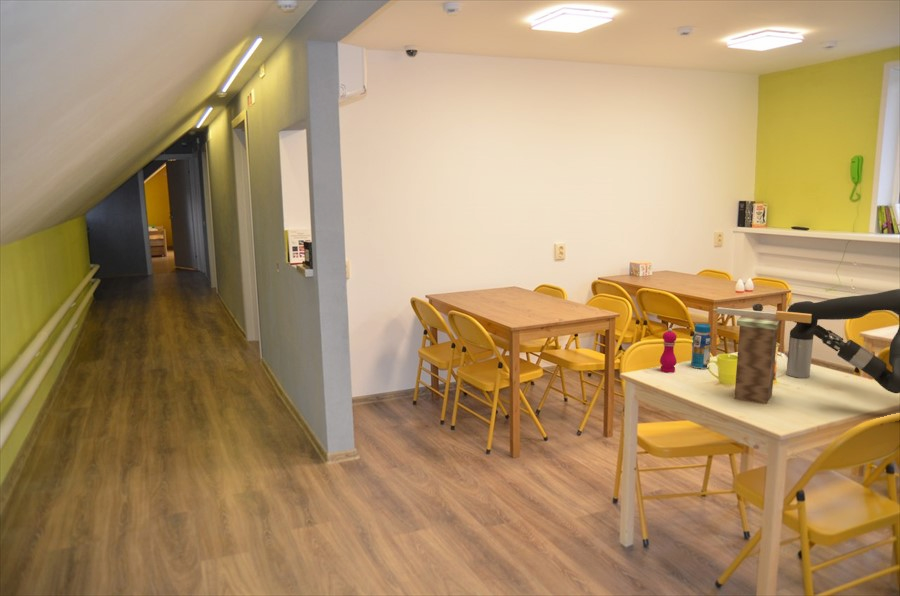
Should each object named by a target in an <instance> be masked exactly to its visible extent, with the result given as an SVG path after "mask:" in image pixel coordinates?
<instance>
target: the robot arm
mask: <svg viewBox="0 0 900 596" xmlns="http://www.w3.org/2000/svg"><path fill="white" fill-rule="evenodd" d="M786 310H787V311H786V312H794V313H805V314H812V318H811V323H803V322H794V323H795V325H794V327H793V328H791V329H790V331H789V339H788V353H787V362H786V372H785V373H787V374H786V375H787V376H788V377H789V376H790V377H793V378H798V379H799V378H801V379H805V378H806V377H807V378H809V377H810V376H811V364H812V355H813V354H812V353H813V346H814V345H813V344H814V336H815V337H817V338H818V339H819V340H821V342H822V344H824V345H826V346H827V347H829V348H830V349H833V350H834V351H835V352H837V356H838V357H839V358H841V359H842V360H844V361H845V362H848V364H850V365H852V366H853V367H855V368H857V369H859V370H860V371H862V372H864V373H865V374H866V375H868V376H870V377H871V378H873V380H874V381H875V382H876V383H878V384H879V386H881V387H882V388H883V389H884V390H886V391H887V392H890V393H892V394H900V288H896V289H890V290H886V291H881V292H877V293H871V294H863V295H851V296H850V295H848V296H842V297H836V298H832V299H827V300H822V301H818V302H813V301H810V300H806V301H797V302H794V303H792V304H791V305H789V306H788V308H787V309H786ZM878 311H890V312H893V313H895V314H896V315H897V316H898V323H899V324H898V329H897V332H895V334H894V336H893V338H892V340H891V342H890V344H889V351H888V352H889V353H888V363H889V365H890V366H891V368H892V371H891V370H890V369H888V368H887V366H888V365H887V362H885V361H884V360H882V359H881V358H879V357H878V356H876V355H875V354H873V353H872V352H870V350H868V349H867V348H864V346H862V345H860V344H859V343H857V342H856V341H854V340H852V339H848V340H847V341H846V342H845V341H844V338H843V337H841V336H840V335H838V334H836V333H835V332H833V331H832V330H830V329H825V328H824V326H821V325H820V324H818V322H819V320H821V321H822V320H828V321H829V320H830V321H831V320H833V321H834V320H836V321H838V320H839V321H841V320H855V319H860V318H863V317H865V316H867V315H868V314H870V313H872V312H878Z"/></svg>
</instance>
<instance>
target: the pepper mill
mask: <svg viewBox="0 0 900 596" xmlns="http://www.w3.org/2000/svg"><path fill="white" fill-rule="evenodd" d="M662 340H663V348H664V349H663V352H662V354H661V356H660V359H659V363H660V371H661V372H664V373H668V372H672V373H675V371H676V367H675V366H676V365H677V357H676V355H675V351H674V348H675V346H676V340H677V334H676V333H675V332H674V331H673V329H672V328H671V327H668V328H667V331H665V332H664V333H663V334H662Z"/></svg>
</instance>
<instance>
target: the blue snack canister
mask: <svg viewBox="0 0 900 596" xmlns="http://www.w3.org/2000/svg"><path fill="white" fill-rule="evenodd" d="M711 328H712V327H711V325H710V324H709V323H708V324H707V323H696V324H695V325H694V332H695V333H694V334H693V336H692V342H691V360H690V366H691V367H692V368H693V367H695V368H694V369H697V368H701V369H700V370H707V364H708V363H710V362H711V361H710V360H711V349H712V338H711V336H710V333H711Z"/></svg>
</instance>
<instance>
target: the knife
mask: <svg viewBox="0 0 900 596" xmlns="http://www.w3.org/2000/svg"><path fill="white" fill-rule="evenodd" d="M712 312H716V314H718V315H727V316H728V315H729V316H738V317H741V316H746V317H756V318H766V319H776V320H782V321H785V322H793V323H795V322H803V323H811V318H812V314H805V313H794V312H787V311H782V310H777V311H776V312H769V311H764V312H761V311H754V310H750V309H747V310H746V309H738V308H727V307H719V306H718V307H717V308H713V309H712Z"/></svg>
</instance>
